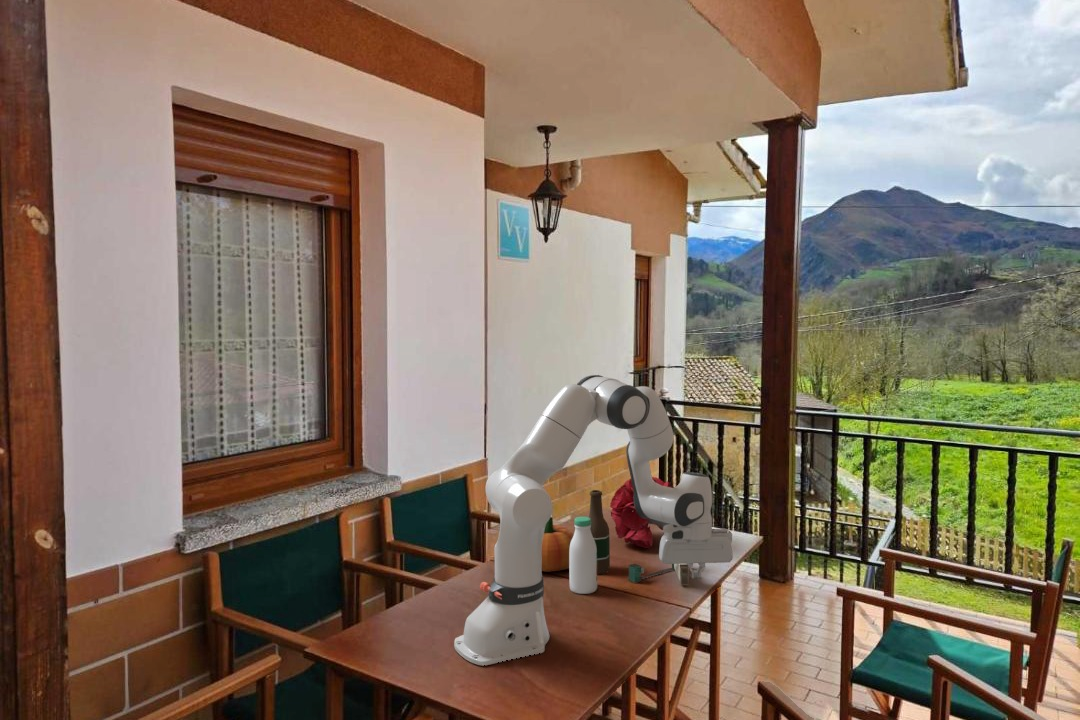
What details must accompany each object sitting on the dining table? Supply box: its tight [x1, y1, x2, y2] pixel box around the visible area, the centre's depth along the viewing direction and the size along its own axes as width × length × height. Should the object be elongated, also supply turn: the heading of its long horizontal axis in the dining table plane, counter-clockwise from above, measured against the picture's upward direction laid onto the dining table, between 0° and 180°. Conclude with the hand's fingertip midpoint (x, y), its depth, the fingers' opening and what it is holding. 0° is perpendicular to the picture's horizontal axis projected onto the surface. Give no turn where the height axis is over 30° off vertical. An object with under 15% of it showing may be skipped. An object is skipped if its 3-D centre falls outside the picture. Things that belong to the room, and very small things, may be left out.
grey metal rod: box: [641, 567, 675, 580], centre depth 198 cm, size 14×1×1 cm, turn 124°
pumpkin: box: [542, 516, 574, 573], centre depth 206 cm, size 19×19×15 cm
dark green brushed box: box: [628, 563, 645, 584], centre depth 193 cm, size 3×3×4 cm
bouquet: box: [609, 476, 675, 549], centre depth 222 cm, size 22×24×30 cm
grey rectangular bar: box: [674, 563, 689, 586], centre depth 194 cm, size 12×2×5 cm, turn 178°
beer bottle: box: [588, 489, 611, 575], centre depth 201 cm, size 8×8×24 cm
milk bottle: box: [568, 516, 598, 595], centre depth 187 cm, size 8×8×20 cm
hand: (695, 577), depth 190 cm, fingers closed
